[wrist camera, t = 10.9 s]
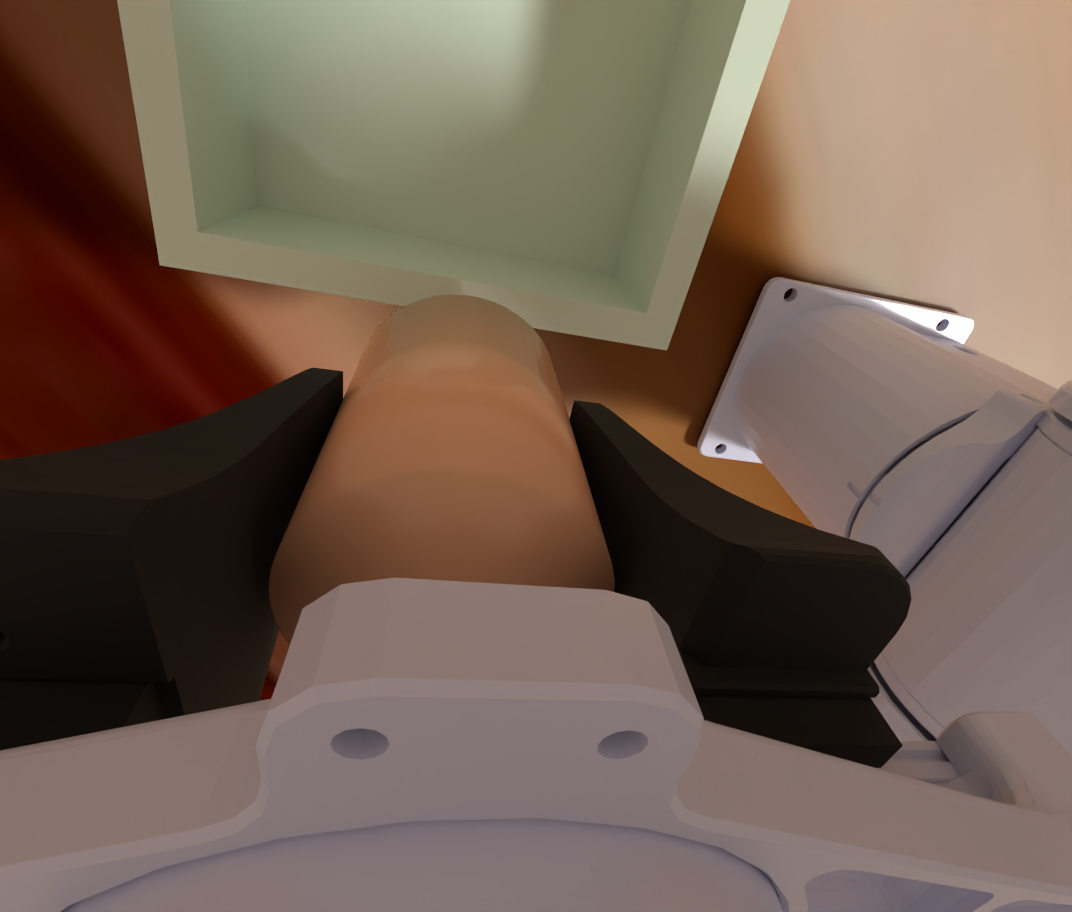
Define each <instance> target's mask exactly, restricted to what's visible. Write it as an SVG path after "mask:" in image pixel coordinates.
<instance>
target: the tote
mask: <svg viewBox="0 0 1072 912" xmlns="http://www.w3.org/2000/svg"><path fill="white" fill-rule="evenodd" d="M789 2H790V0H117V3H118V9H119V16H120V22H121V28H122V34H123V41H124V47H125V53H126V59H127V65H128V72H129V78H130V84H131V90H132V96H133V103H134V109H135V115H136V121H137V127H138V134H139V140H140V146H141V152H142V159H143V165H144V171H145V177H146V183H147V190H148V196H149V202H150V208H151V214H152V221H153V227H154V233H155V239H156V246H157V252H158V258H159V264H160V265H161V266H167V267H173V268H179V269H185V270H191V271H197V272H203V273H209V274H215V275H221V276H227V277H233V278H239V279H245V280H251V281H257V282H263V283H268V284H274V285H280V286H286V287H292V288H298V289H304V290H310V291H316V292H322V293H328V294H334V295H340V296H346V297H352V298H358V299H364V300H370V301H375V302H381V303H387V304H393V305H399V306H407V305H409V304H411V303H414V302H417V301H419V300H422V299H426V298H430V297H434V296H441V295H468V296H474V297H479V298H483V299H486V300H489V301H493V302H495V303H497V304H499V305H502V306H504V307H506V308H508V309H509V310H511V311H512V312H514V313H516V314H517V315H519V316H520V317H521V318H522V319H523V320H525V321H526V322H527V323H528V324H529V325H530V326H531V327H532V328H536V329H542V330H548V331H554V332H560V333H566V334H572V335H578V336H584V337H589V338H595V339H601V340H607V341H613V342H619V343H625V344H631V345H637V346H643V347H649V348H655V349H661V350H667V349H668V346H669V343H670V341H671V338H672V335H673V332H674V329H675V326H676V324H677V321H678V318H679V315H680V312H681V309H682V307H683V304H684V301H685V298H686V295H687V292H688V289H689V287H690V284H691V281H692V278H693V275H694V272H695V270H696V267H697V264H698V261H699V258H700V255H701V253H702V250H703V247H704V244H705V241H706V238H707V235H708V233H709V230H710V227H711V224H712V221H713V218H714V216H715V213H716V210H717V207H718V204H719V201H720V199H721V196H722V193H723V190H724V187H725V184H726V181H727V179H728V176H729V173H730V170H731V167H732V164H733V162H734V159H735V156H736V153H737V150H738V147H739V145H740V142H741V139H742V136H743V133H744V130H745V128H746V125H747V122H748V119H749V116H750V113H751V110H752V108H753V105H754V102H755V99H756V96H757V93H758V91H759V88H760V85H761V82H762V79H763V76H764V74H765V71H766V68H767V65H768V62H769V59H770V56H771V54H772V51H773V48H774V45H775V42H776V39H777V37H778V34H779V31H780V28H781V25H782V22H783V20H784V17H785V14H786V11H787V8H788V5H789Z"/></svg>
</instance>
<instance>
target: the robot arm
mask: <svg viewBox="0 0 1072 912" xmlns="http://www.w3.org/2000/svg"><path fill="white" fill-rule="evenodd" d="M790 288H792V294H791V295H790V296H789V297H788V298H786V299H784V294H785V292H786V291H787V290H788V289H790ZM941 320H942V321H941ZM939 321H941V324H940V325H939V326H938V327H936V326H937V324H938V323H939ZM973 327H974V321H973V319H972V318H970V317H968V316H965V315H962V314H957V313H952V312H948V311H943V310H938V309H933V308H928V307H923V306H918V305H914V304H909V303H904V302H899V301H894V300H889V299H884V298H879V297H875V296H870V295H865V294H860V293H855V292H850V291H845V290H841V289H836V288H831V287H826V286H821V285H816V284H811V283H806V282H802V281H797V280H792V279H787V278H782V277H775V278H772V279H770V280H769V281H768V282H767V283H766V284H765V286H764V287H763V289H762V292H761V294H760V296H759V299H758V301H757V304H756V306H755V308H754V311H753V313H752V315H751V318H750V320H749V322H748V325H747V327H746V329H745V332H744V334H743V337H742V339H741V341H740V344H739V346H738V348H737V351H736V353H735V355H734V358H733V360H732V362H731V365H730V367H729V370H728V372H727V374H726V377H725V379H724V381H723V384H722V386H721V388H720V391H719V393H718V395H717V398H716V400H715V403H714V405H713V407H712V410H711V412H710V414H709V417H708V419H707V421H706V424H705V426H704V428H703V431H702V433H701V436H700V438H699V440H698V443H697V448H698V450H699V451H700V453H701V454H702V455H704V456H709V457H717V458H724V459H732V460H740V461H747V462H755V463H763V464H764V465H765V467H766V468H767V469H768V470H769V472H770V473H771V474H772V475H773V476H774V478H775V479H776V480H777V481H778V482H779V484H780V485H781V486H782V487H783V489H784V490H785V491H786V492H787V493H788V495H789V496H790V497H791V498H792V500H793V501H794V502H795V503H796V504H797V506H798V507H799V508H800V509H801V511H802V512H803V513H804V514H805V515H806V517H807V518H808V519H809V520H810V521H811V523H812V524H813V525H814V526H815V528H813V527H810V526H807V525H804V524H802V523H799V522H796V521H794V520H791V519H788V518H786V517H783V516H780V515H778V514H776V513H773V512H771V511H768V510H766V509H764V508H761V507H759V506H757V505H755V504H753V503H751V502H748V501H746V500H744V499H742V498H740V497H738V496H736V495H734V494H732V493H730V492H728V491H726V490H724V489H722V488H720V487H718V486H716V485H715V484H713V483H711V482H710V481H708V480H706V479H704V478H703V477H701V476H699V475H697V474H696V473H694V472H692V471H691V470H689V469H688V468H686V467H685V466H683V465H682V464H680V463H679V462H677V461H676V460H674V459H673V458H672V457H670V456H669V455H667V454H666V453H664V452H663V451H662V450H660V449H659V448H658V447H656V446H655V445H654V444H652V443H651V442H650V441H649V440H647V439H646V438H645V437H643V436H642V435H641V434H640V433H638V432H637V431H636V430H635V429H633V428H632V427H631V426H630V425H628V424H627V423H626V422H625V421H623V420H622V419H621V418H620V417H618V416H617V415H616V414H615V413H613V412H612V411H611V410H609V409H608V408H606V407H605V406H603V405H602V404H599V403H591V402H583V401H575V400H574V404H573V408H572V412H571V416H570V423H571V427H572V430H573V433H574V437H575V440H576V443H577V447H578V450H579V454H580V457H581V460H582V464H583V467H584V471H585V474H586V477H587V481H588V484H589V487H590V491H591V494H592V498H593V501H594V504H595V508H596V511H597V514H598V518H599V521H600V525H601V528H602V531H603V535H604V538H605V542H606V545H607V548H608V552H609V555H610V558H611V562H612V566H613V572H614V578H615V585H614V592H612V591H608V590H599V589H582V588H565V587H548V586H531V585H514V584H497V583H480V582H462V581H445V580H428V579H411V578H387V579H379V580H371V581H364V582H356V583H348V584H341V585H339V586H338V587H336V588H334V589H333V590H331V591H330V592H328V593H326V594H325V595H323V596H322V597H320V598H318V599H317V600H315V601H314V602H312V603H310V604H309V605H307V606H306V607H304V608H303V609H302V612H301V615H300V618H299V621H298V623H297V626H296V629H295V632H294V635H293V637H292V640H291V643H290V646H289V649H288V652H287V655H286V658H285V661H284V664H283V666H282V669H281V672H280V675H279V678H278V681H277V684H276V687H275V690H274V693H273V696H272V699H267V700H262V701H259V700H260V697H261V693H262V689H263V685H264V682H265V678H266V674H267V670H268V667H269V663H270V660H271V656H272V653H273V649H274V646H275V642H276V639H277V635H278V632H279V626H278V624H277V622H276V621H275V618H274V615H273V612H272V608H271V605H270V598H269V578H270V571H271V567H272V564H273V561H274V558H275V555H276V553H277V550H278V548H279V546H280V543H281V541H282V539H283V536H284V534H285V532H286V530H287V527H288V525H289V523H290V520H291V518H292V516H293V513H294V511H295V509H296V507H297V504H298V502H299V500H300V497H301V495H302V493H303V490H304V488H305V486H306V484H307V481H308V479H309V477H310V474H311V472H312V470H313V467H314V465H315V463H316V461H317V458H318V456H319V454H320V451H321V449H322V447H323V444H324V442H325V440H326V438H327V435H328V433H329V431H330V428H331V426H332V424H333V421H334V419H335V417H336V415H337V412H338V410H339V408H340V405H341V403H342V401H343V371H335V370H327V369H319V368H310V369H307V370H305V371H303V372H301V373H298V374H296V375H294V376H292V377H290V378H288V379H286V380H284V381H282V382H280V383H278V384H276V385H274V386H272V387H270V388H268V389H266V390H264V391H262V392H260V393H258V394H256V395H254V396H252V397H249V398H247V399H245V400H242V401H240V402H238V403H235V404H233V405H231V406H228V407H226V408H224V409H221V410H219V411H217V412H214V413H212V414H209V415H206V416H204V417H201V418H198V419H195V420H192V421H189V422H186V423H183V424H180V425H177V426H174V427H170V428H167V429H164V430H160V431H157V432H153V433H148V434H144V435H140V436H136V437H132V438H127V439H123V440H119V441H115V442H110V443H106V444H102V445H97V446H91V447H86V448H80V449H74V450H69V451H63V452H56V453H49V454H43V455H36V456H29V457H21V458H13V459H5V460H0V912H1072V381H1068V382H1067V383H1065V384H1064V385H1062V386H1061V387H1060V388H1059V389H1057V388H1055V387H1052V386H1050V385H1048V384H1046V383H1044V382H1042V381H1040V380H1038V379H1036V378H1034V377H1031V376H1029V375H1027V374H1025V373H1023V372H1021V371H1019V370H1017V369H1015V368H1013V367H1010V366H1008V365H1006V364H1004V363H1002V362H1000V361H998V360H996V359H994V358H991V357H989V356H987V355H985V354H983V353H981V352H979V351H977V350H975V349H973V348H970V347H968V346H966V345H964V342H965V341H966V339H967V338H968V336H969V335H970V333H971V331H972V330H973ZM719 444H723V445H722V447H721V448H719V449H715V448H716V447H717V446H718V445H719Z"/></svg>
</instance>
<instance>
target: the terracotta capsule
mask: <svg viewBox="0 0 1072 912" xmlns="http://www.w3.org/2000/svg"><path fill="white" fill-rule="evenodd" d="M387 578H411V579H428V580H445V581H462V582H480V583H497V584H514V585H531V586H548V587H565V588H582V589H599V590H608V591H612V592H614V585H615V578H614V572H613V566H612V562H611V558H610V555H609V552H608V548H607V545H606V542H605V538H604V535H603V531H602V528H601V525H600V521H599V518H598V514H597V511H596V508H595V504H594V501H593V498H592V494H591V491H590V487H589V484H588V481H587V477H586V474H585V471H584V467H583V464H582V460H581V457H580V454H579V450H578V447H577V443H576V440H575V437H574V433H573V430H572V427H571V423H570V420H569V416H568V413H567V410H566V406H565V403H564V400H563V396H562V393H561V389H560V386H559V383H558V379H557V376H556V372H555V369H554V366H553V363H552V360H551V357H550V354H549V352H548V350H547V348H546V346H545V344H544V342H543V341H542V340H541V338H540V337H539V335H538V334H537V332H536V331H535V330H534V329H533V328H532V327H531V326H530V325H529V324H528V323H527V322H526V321H525V320H523V319H522V318H521V317H520V316H519V315H517V314H516V313H514V312H512V311H511V310H509V309H508V308H506V307H504V306H502V305H499V304H497V303H495V302H493V301H489V300H486V299H483V298H479V297H474V296H468V295H441V296H434V297H430V298H426V299H422V300H419V301H417V302H414V303H411V304H409V305H407V306H405V307H404V308H402V309H400V310H398V311H397V312H395V313H394V314H393V315H391V316H390V317H389V318H387V319H386V320H385V321H384V322H383V323H382V324H381V325H380V326H379V327H378V329H377V330H376V332H375V333H374V334H373V336H372V337H371V338H370V340H369V342H368V344H367V346H366V348H365V350H364V352H363V355H362V357H361V359H360V362H359V364H358V366H357V369H356V371H355V373H354V375H353V378H352V380H351V382H350V385H349V387H348V389H347V392H346V394H345V396H344V398H343V401H342V403H341V405H340V408H339V410H338V412H337V415H336V417H335V419H334V421H333V424H332V426H331V428H330V431H329V433H328V435H327V438H326V440H325V442H324V444H323V447H322V449H321V451H320V454H319V456H318V458H317V461H316V463H315V465H314V467H313V470H312V472H311V474H310V477H309V479H308V481H307V484H306V486H305V488H304V490H303V493H302V495H301V497H300V500H299V502H298V504H297V507H296V509H295V511H294V513H293V516H292V518H291V520H290V523H289V525H288V527H287V530H286V532H285V534H284V536H283V539H282V541H281V543H280V546H279V548H278V550H277V553H276V555H275V558H274V561H273V564H272V567H271V571H270V578H269V598H270V605H271V608H272V612H273V615H274V618H275V621H276V622H277V624H278V626H279V628H280V630H281V632H282V634H283V635H284V637H285V638H286V639H287V641H288V642H289V643H291V640H292V637H293V635H294V632H295V629H296V626H297V623H298V621H299V618H300V615H301V612H302V609H303V608H304V607H306V606H307V605H309V604H310V603H312V602H314V601H315V600H317V599H318V598H320V597H322V596H323V595H325V594H326V593H328V592H330V591H331V590H333V589H334V588H336V587H338V586H339V585H341V584H348V583H356V582H364V581H371V580H379V579H387Z"/></svg>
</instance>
